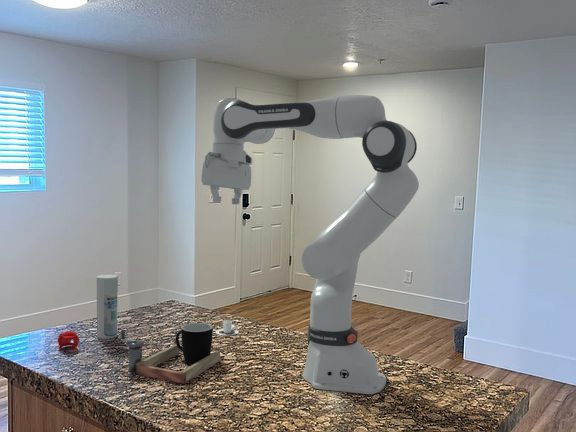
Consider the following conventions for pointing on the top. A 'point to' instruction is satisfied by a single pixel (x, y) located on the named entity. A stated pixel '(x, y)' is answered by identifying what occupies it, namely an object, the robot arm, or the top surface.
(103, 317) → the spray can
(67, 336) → the cap
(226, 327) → the teacup and saucer
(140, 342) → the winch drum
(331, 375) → the robot arm
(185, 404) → the top surface
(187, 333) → the mug
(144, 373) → the bay
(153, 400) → the top surface
